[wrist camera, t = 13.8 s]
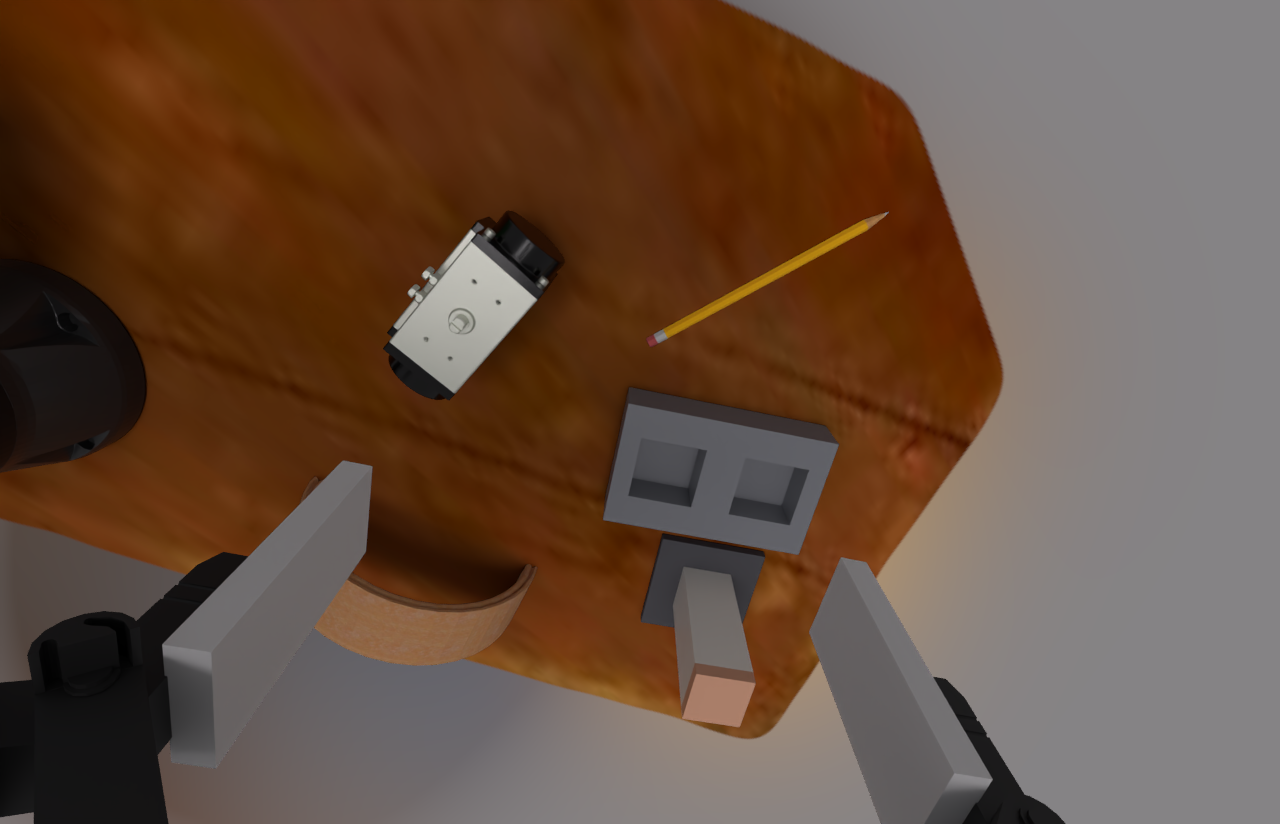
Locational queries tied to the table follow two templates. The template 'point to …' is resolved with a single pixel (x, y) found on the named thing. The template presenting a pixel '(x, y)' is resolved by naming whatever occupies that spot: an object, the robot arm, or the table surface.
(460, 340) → the pneumatic valve
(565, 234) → the table surface
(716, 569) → the mat
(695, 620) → the plug
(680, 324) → the pencil
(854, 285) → the table surface
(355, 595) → the arch
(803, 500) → the grey boxy piece
